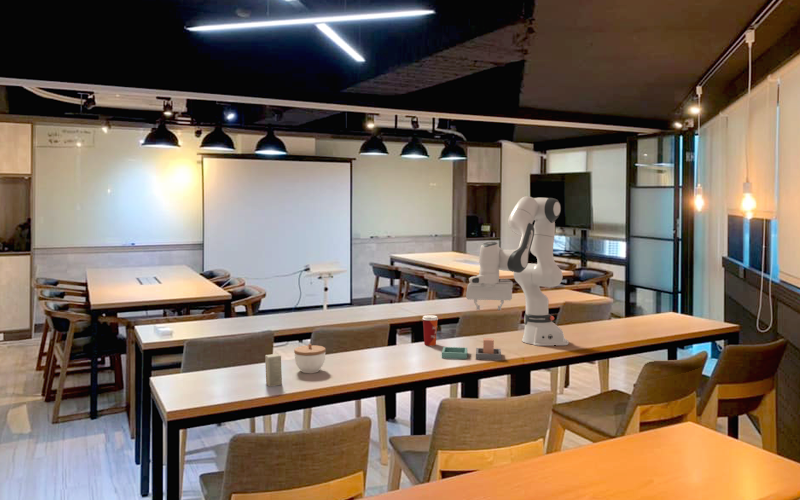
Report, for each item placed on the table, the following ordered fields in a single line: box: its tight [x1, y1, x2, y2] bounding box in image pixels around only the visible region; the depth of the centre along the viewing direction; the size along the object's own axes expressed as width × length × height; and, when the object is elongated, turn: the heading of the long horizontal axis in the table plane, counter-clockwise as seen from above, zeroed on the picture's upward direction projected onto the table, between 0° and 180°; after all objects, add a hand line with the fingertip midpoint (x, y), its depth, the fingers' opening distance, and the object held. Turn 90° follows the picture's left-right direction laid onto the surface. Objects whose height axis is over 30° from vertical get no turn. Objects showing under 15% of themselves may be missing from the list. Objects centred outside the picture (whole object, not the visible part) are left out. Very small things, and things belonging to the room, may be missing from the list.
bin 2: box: [475, 347, 502, 361], centre depth 258 cm, size 11×11×2 cm
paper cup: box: [422, 314, 439, 347], centre depth 282 cm, size 8×8×14 cm
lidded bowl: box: [293, 343, 327, 374], centre depth 235 cm, size 13×13×11 cm
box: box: [264, 353, 283, 387], centre depth 216 cm, size 5×4×11 cm
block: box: [482, 337, 495, 354], centre depth 258 cm, size 4×5×8 cm
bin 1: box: [441, 346, 468, 360], centre depth 261 cm, size 11×11×2 cm
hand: (488, 309), depth 257 cm, fingers open, 8 cm apart
